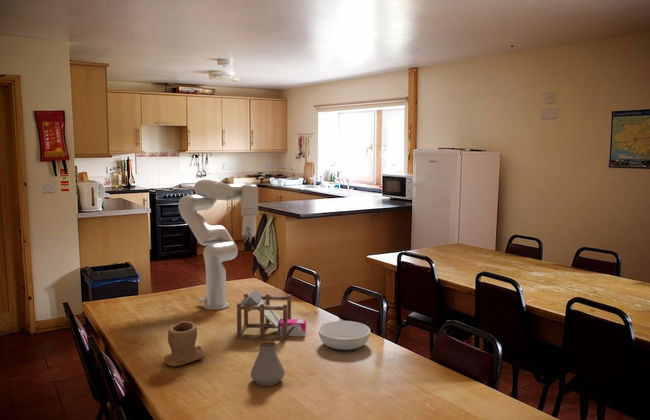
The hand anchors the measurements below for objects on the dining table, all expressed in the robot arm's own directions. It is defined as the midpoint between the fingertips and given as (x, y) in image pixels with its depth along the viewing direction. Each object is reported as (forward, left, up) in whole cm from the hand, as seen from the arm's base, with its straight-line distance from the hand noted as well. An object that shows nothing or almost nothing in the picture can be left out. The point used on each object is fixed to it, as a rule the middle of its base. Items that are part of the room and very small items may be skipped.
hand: (250, 248), depth 244 cm
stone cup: (-14, -53, -33) cm, 64 cm away
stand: (+10, -20, -32) cm, 39 cm away
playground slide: (+7, -20, -25) cm, 33 cm away
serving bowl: (+44, -33, -33) cm, 64 cm away
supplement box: (+16, -21, -29) cm, 40 cm away
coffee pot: (+21, -63, -33) cm, 74 cm away
